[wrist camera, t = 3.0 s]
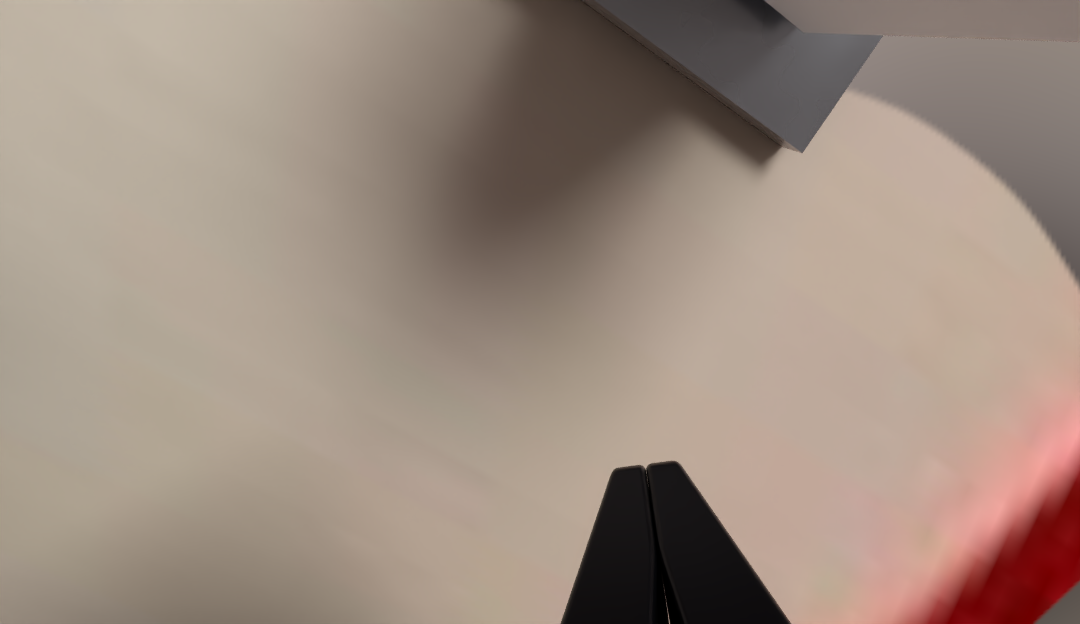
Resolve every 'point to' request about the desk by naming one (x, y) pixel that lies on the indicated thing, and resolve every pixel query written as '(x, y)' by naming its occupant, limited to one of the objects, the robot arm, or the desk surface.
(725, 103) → the rack deck
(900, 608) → the desk surface
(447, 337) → the desk surface
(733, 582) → the robot arm
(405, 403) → the desk surface
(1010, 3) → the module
